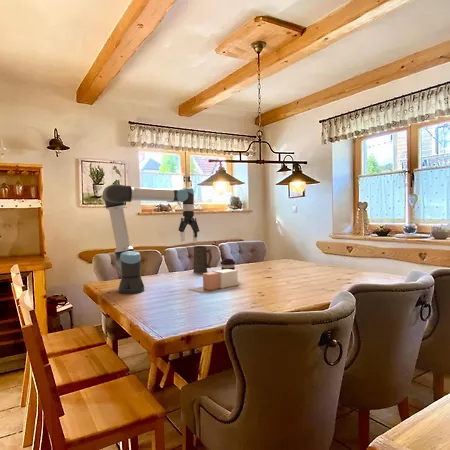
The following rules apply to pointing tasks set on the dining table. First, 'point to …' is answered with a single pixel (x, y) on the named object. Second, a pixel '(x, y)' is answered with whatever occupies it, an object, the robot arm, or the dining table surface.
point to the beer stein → (201, 259)
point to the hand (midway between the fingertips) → (188, 241)
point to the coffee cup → (228, 264)
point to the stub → (211, 280)
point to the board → (202, 290)
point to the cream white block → (228, 277)
